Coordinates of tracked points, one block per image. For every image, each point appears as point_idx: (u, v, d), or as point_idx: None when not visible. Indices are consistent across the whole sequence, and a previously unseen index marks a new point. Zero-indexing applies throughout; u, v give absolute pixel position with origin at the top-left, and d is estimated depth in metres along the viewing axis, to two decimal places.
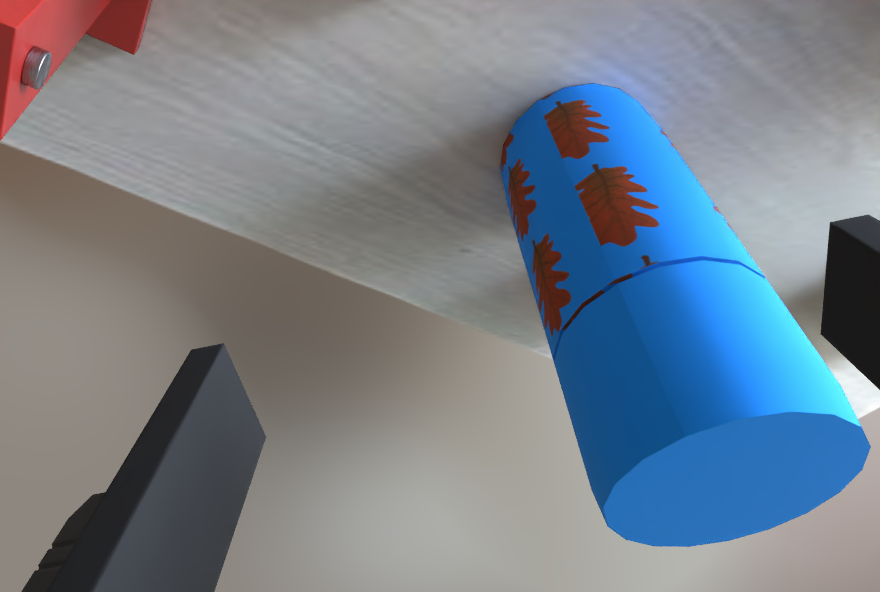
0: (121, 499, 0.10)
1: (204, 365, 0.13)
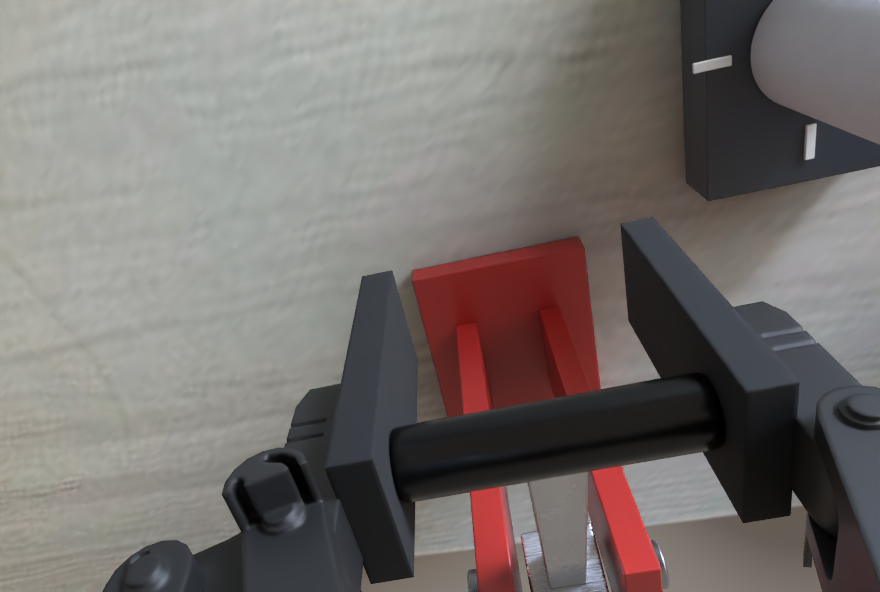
0: (361, 380, 0.11)
1: (382, 286, 0.14)
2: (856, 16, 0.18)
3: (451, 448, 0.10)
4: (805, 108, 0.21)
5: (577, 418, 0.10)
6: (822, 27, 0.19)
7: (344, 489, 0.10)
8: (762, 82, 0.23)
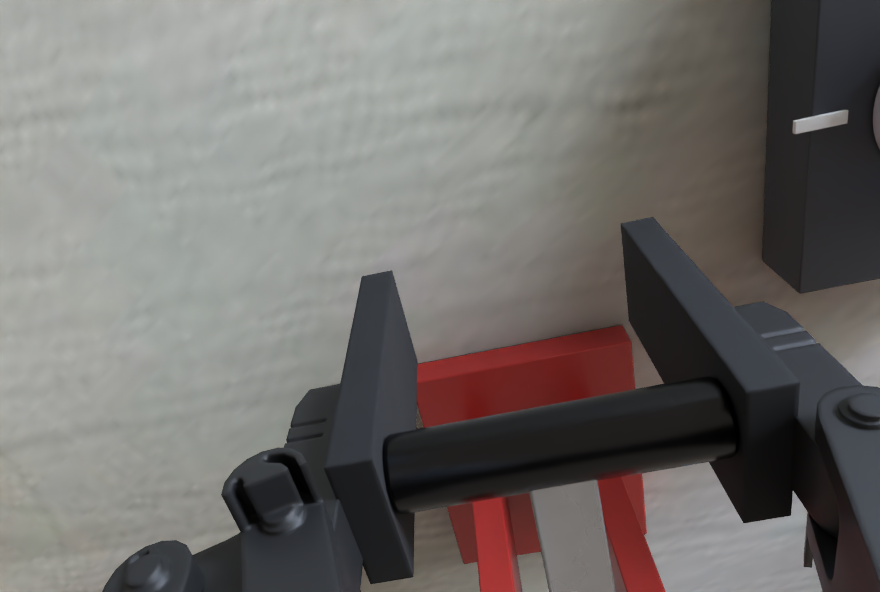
0: (360, 381, 0.11)
1: (381, 286, 0.14)
2: None
3: (446, 434, 0.10)
4: None
5: (577, 406, 0.10)
6: None
7: (344, 490, 0.10)
8: None
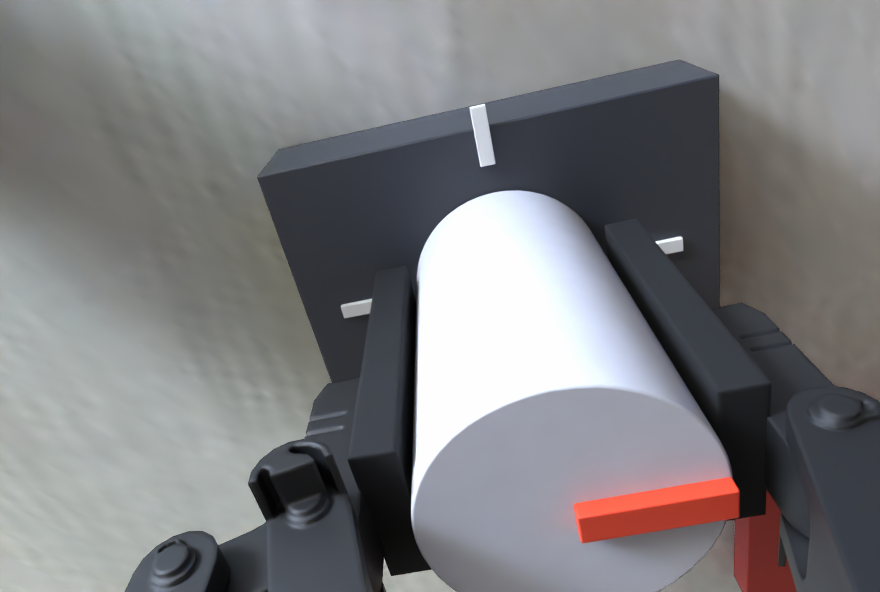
0: (380, 374, 0.11)
1: (396, 282, 0.14)
2: None
3: None
4: None
5: None
6: None
7: (366, 481, 0.10)
8: None
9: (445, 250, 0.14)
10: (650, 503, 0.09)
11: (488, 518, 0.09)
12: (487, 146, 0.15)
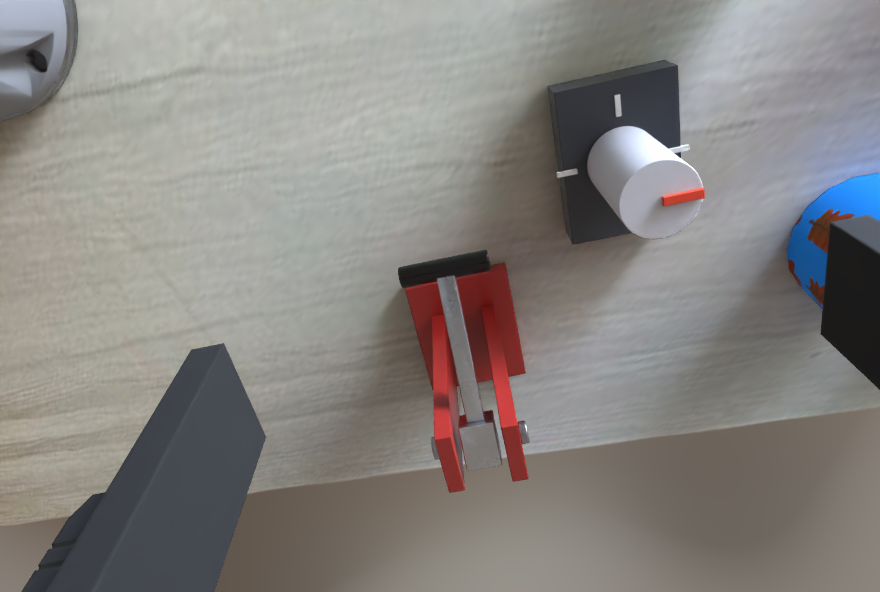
0: (121, 499, 0.10)
1: (204, 365, 0.13)
2: None
3: (415, 264, 0.38)
4: None
5: (449, 257, 0.38)
6: None
7: None
8: None
9: (607, 144, 0.40)
10: (682, 193, 0.35)
11: (639, 201, 0.36)
12: (673, 151, 0.43)
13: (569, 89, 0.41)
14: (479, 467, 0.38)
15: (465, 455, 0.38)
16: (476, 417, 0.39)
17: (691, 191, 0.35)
